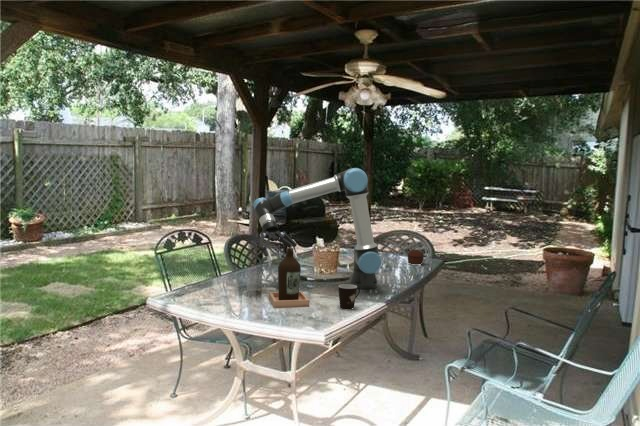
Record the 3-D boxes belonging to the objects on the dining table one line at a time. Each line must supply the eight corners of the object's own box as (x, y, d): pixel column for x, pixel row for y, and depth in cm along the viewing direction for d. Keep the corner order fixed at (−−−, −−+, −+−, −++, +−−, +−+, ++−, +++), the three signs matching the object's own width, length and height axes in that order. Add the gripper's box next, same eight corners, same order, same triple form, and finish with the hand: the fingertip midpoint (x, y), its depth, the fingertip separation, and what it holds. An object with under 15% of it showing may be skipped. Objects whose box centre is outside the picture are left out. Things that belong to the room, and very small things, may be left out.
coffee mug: (340, 310, 225) (341, 288, 224) (335, 305, 233) (335, 284, 232) (365, 309, 228) (366, 288, 227) (358, 304, 236) (359, 283, 235)
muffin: (403, 263, 345) (404, 248, 344) (416, 262, 349) (417, 248, 348) (413, 266, 334) (414, 251, 333) (427, 265, 339) (427, 251, 338)
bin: (302, 297, 246) (302, 291, 245) (309, 306, 230) (309, 300, 230) (269, 298, 242) (269, 292, 242) (274, 307, 226) (274, 301, 226)
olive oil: (273, 299, 237) (274, 247, 235) (292, 296, 243) (293, 245, 241) (284, 304, 229) (285, 250, 226) (304, 301, 235) (305, 249, 232)
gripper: (287, 228, 258) (302, 262, 247) (243, 230, 244) (257, 266, 233) (293, 219, 253) (308, 253, 242) (248, 221, 239) (262, 257, 228)
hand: (283, 260), depth 238 cm, fingers open, 13 cm apart
